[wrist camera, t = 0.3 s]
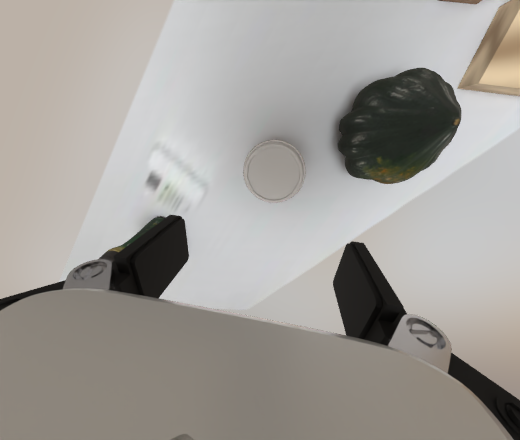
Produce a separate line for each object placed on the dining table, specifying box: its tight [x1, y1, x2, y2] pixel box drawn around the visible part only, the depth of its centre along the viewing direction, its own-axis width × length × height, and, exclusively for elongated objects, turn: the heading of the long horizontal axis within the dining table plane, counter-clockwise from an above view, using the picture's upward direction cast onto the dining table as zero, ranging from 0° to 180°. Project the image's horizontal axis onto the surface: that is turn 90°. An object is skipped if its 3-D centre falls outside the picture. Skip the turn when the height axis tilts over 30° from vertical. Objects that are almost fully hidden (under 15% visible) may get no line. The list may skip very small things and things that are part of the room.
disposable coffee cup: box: [243, 140, 306, 203], centre depth 32 cm, size 10×10×12 cm
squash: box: [338, 68, 461, 184], centre depth 28 cm, size 14×15×15 cm
